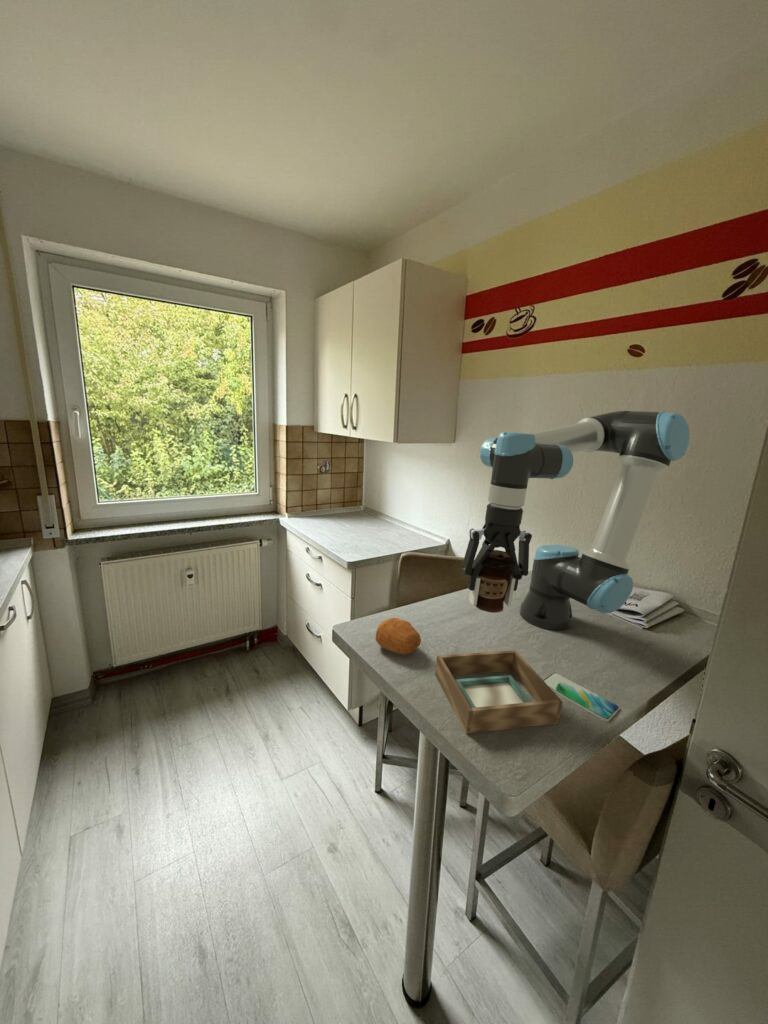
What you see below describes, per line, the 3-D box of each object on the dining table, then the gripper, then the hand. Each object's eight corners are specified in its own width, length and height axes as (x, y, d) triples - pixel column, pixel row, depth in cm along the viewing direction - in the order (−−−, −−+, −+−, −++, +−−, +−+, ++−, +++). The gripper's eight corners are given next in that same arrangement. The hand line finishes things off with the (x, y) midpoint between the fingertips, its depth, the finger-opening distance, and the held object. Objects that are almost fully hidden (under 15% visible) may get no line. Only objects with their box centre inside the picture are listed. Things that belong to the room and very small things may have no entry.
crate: (512, 668, 99) (515, 650, 98) (558, 723, 82) (562, 701, 81) (434, 674, 94) (437, 655, 93) (466, 733, 77) (469, 711, 76)
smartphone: (554, 671, 98) (621, 706, 87) (554, 674, 99) (620, 710, 88) (539, 682, 94) (607, 720, 83) (538, 685, 94) (606, 724, 83)
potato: (394, 634, 111) (396, 609, 109) (426, 652, 103) (429, 626, 101) (370, 646, 104) (371, 619, 102) (402, 666, 97) (405, 638, 95)
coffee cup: (508, 619, 88) (518, 563, 85) (469, 612, 89) (477, 556, 87) (506, 603, 96) (515, 550, 93) (471, 596, 98) (478, 545, 95)
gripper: (539, 503, 93) (522, 596, 98) (454, 499, 89) (441, 595, 94) (558, 511, 85) (539, 610, 91) (466, 506, 82) (452, 610, 87)
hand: (489, 602), depth 92 cm, fingers closed on coffee cup, 8 cm apart
